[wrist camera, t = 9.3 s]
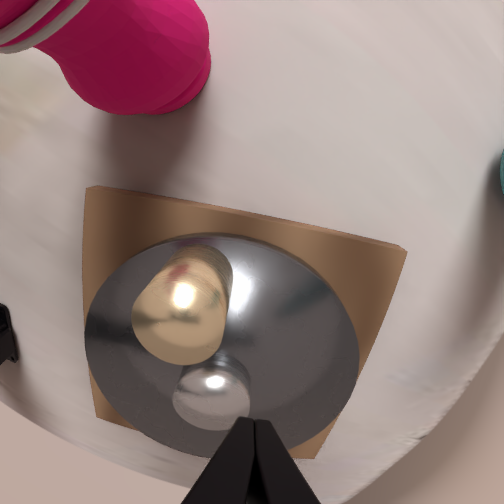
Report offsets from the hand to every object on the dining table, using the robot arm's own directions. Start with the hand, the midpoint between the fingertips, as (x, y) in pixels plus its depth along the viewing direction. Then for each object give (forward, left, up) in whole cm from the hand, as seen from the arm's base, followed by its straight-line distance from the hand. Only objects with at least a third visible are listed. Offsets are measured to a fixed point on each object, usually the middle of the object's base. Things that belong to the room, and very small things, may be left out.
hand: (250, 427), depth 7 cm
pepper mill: (-8, +11, -13) cm, 19 cm away
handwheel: (-1, -7, -11) cm, 13 cm away
